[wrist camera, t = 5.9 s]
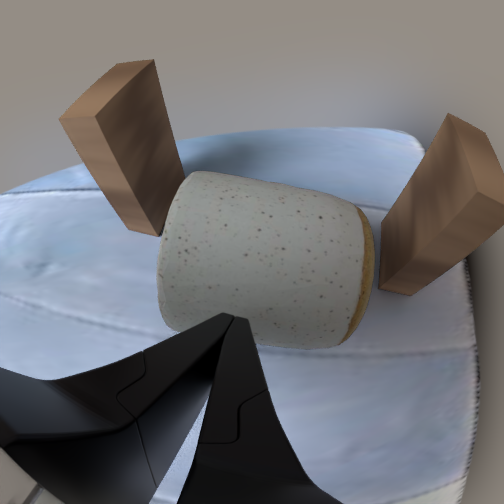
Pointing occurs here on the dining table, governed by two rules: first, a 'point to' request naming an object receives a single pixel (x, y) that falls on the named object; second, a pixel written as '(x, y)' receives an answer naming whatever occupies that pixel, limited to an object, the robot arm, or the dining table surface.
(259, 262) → the ceramic mug
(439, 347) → the dining table surface
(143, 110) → the walnut bookends
